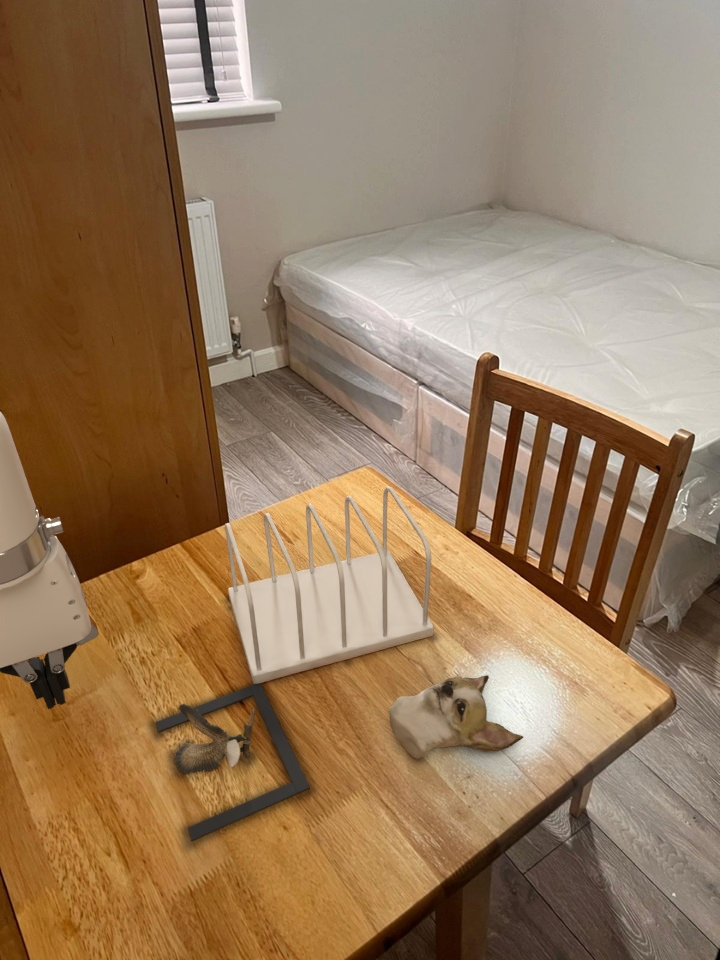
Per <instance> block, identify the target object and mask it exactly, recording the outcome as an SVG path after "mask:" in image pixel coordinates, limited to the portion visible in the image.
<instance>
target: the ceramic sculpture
mask: <svg viewBox="0 0 720 960" xmlns="http://www.w3.org/2000/svg"><path fill="white" fill-rule="evenodd" d="M489 678H490V676H489V675H487V674H485V675H481V676H478V677H472V678H471V677H462V676H454V677H452V678H451V677H450V678H447V679H446V680H444V681H442V682H441V683H436V684H432V685H430V686H429V687H427V688H425V689H423V690H422V691H421V692H419V693H416V695H401V696H398V697H397V698H396V700H395V701H394V702H393V703H392V705H391V706H390V708H389V709H388V715H389V716H388V717H389V718H388V719H389V725H390V728H391V731H392V733H393V735H394V737H395V738H396V739H397V740H398V741H399V743H400V745H401V746H402V747H403V748H404V749H405V750H406V751H407V753H408V754H409V755H410V756H411V757H412V758H413V759H416V760H417V759H421V758H423V757H425V756H426V755H427V754H428V753H429V752H430V751H431V750H433V749H441V748H445V747H457V746H465V747H467V748H471V749H475V750H477V751H481V752H488V753H494V752H495V753H496V752H500V751H502V750H506V749H508V748H510V747H512V746H514V745H515V744H517V743H518V742H520V741H521V740H523V739H524V736H523V735H521V734H517V733H514V732H512V731H511V730H509V729H507V728H505V726H504V725H501V724H499V723H497V722H493V721H488V720H487V717H488V716H487V715H488V710H487V703H486V700H485V699H484V696H483V692H484V690H485V687H486V684H487V683H488V681H489Z"/></svg>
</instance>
